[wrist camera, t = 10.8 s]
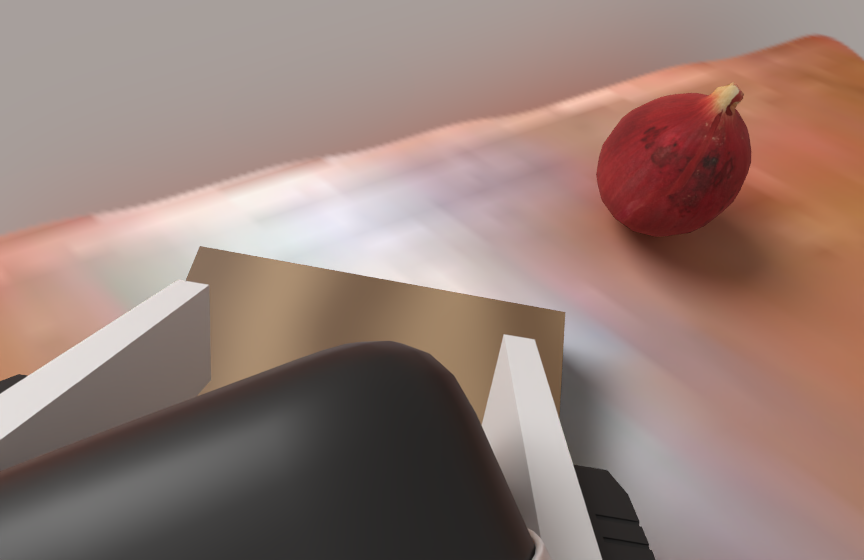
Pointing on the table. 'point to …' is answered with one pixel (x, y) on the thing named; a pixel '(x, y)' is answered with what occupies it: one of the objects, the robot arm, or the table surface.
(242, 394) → the battery charger
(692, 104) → the onion
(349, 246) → the table surface
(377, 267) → the table surface
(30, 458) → the robot arm
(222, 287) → the walnut slab
